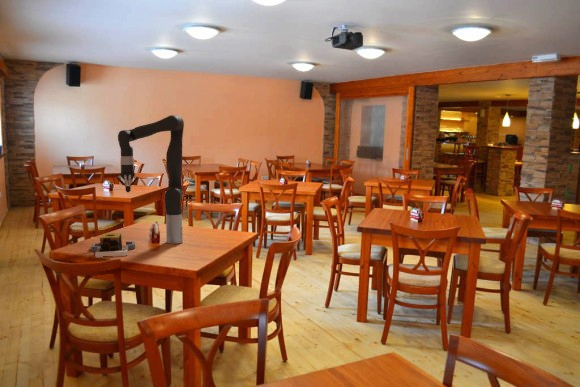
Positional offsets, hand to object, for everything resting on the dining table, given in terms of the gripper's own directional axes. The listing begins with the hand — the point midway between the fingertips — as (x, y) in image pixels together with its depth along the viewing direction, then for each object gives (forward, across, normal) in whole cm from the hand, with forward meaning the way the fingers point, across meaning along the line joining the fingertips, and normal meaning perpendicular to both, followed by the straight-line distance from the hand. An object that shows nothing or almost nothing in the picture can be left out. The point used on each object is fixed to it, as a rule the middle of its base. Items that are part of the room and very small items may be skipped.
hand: (128, 192), depth 294 cm
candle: (+29, -9, -31) cm, 43 cm away
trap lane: (+29, -8, -27) cm, 41 cm away
